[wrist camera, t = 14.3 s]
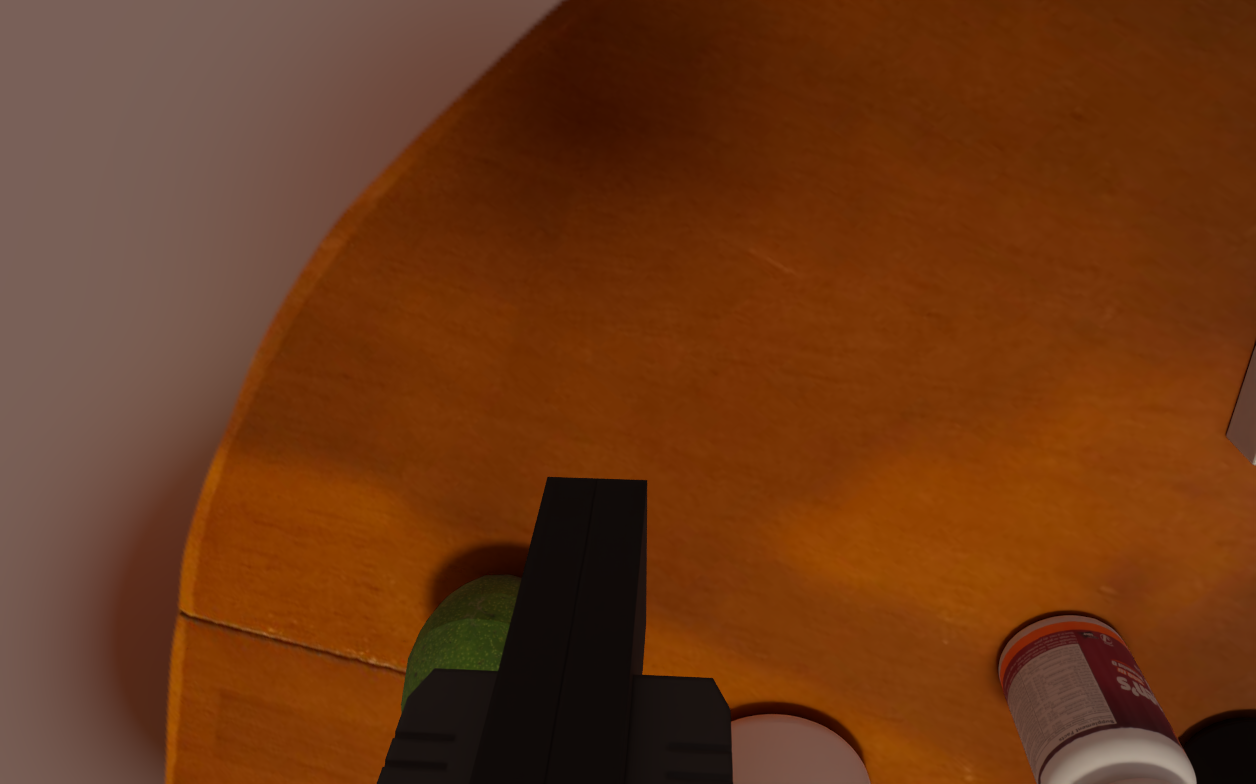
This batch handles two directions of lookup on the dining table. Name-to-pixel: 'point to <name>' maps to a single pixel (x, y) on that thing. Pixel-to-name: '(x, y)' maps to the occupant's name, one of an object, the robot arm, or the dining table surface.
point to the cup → (791, 753)
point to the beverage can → (1224, 752)
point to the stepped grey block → (1245, 416)
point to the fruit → (465, 630)
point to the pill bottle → (1087, 707)
